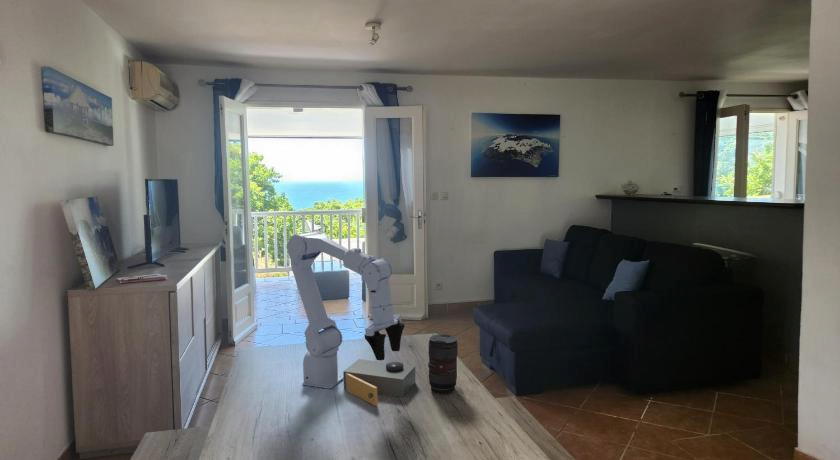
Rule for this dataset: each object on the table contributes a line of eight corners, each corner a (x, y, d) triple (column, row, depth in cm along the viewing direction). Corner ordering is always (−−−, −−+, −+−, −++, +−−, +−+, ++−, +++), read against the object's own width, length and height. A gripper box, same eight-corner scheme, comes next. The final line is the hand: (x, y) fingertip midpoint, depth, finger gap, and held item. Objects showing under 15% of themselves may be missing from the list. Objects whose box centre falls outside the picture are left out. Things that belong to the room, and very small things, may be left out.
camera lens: (455, 397, 142) (455, 343, 140) (426, 394, 143) (426, 342, 142) (459, 384, 150) (459, 334, 148) (431, 382, 151) (431, 332, 149)
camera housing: (343, 388, 148) (343, 367, 147) (359, 375, 157) (358, 355, 156) (403, 397, 142) (402, 375, 141) (415, 382, 151) (415, 362, 151)
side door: (343, 391, 146) (343, 374, 145) (348, 389, 147) (347, 372, 146) (373, 407, 136) (372, 388, 135) (377, 405, 137) (377, 387, 136)
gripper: (378, 311, 130) (386, 364, 131) (408, 298, 143) (414, 347, 143) (356, 311, 134) (363, 363, 134) (386, 299, 146) (393, 346, 147)
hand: (388, 355), depth 139 cm, fingers open, 7 cm apart
